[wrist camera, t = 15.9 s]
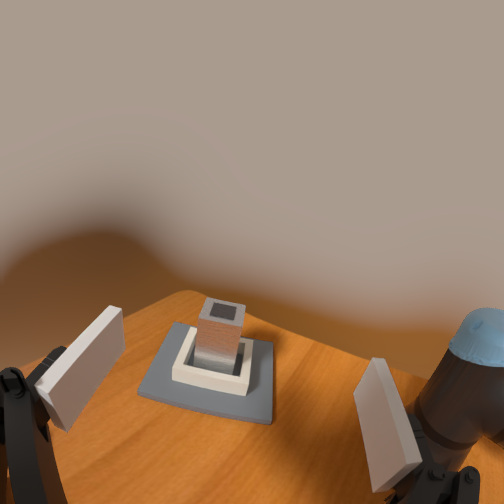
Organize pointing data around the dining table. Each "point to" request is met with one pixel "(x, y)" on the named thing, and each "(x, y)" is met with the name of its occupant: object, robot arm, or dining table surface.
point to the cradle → (212, 379)
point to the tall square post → (218, 335)
